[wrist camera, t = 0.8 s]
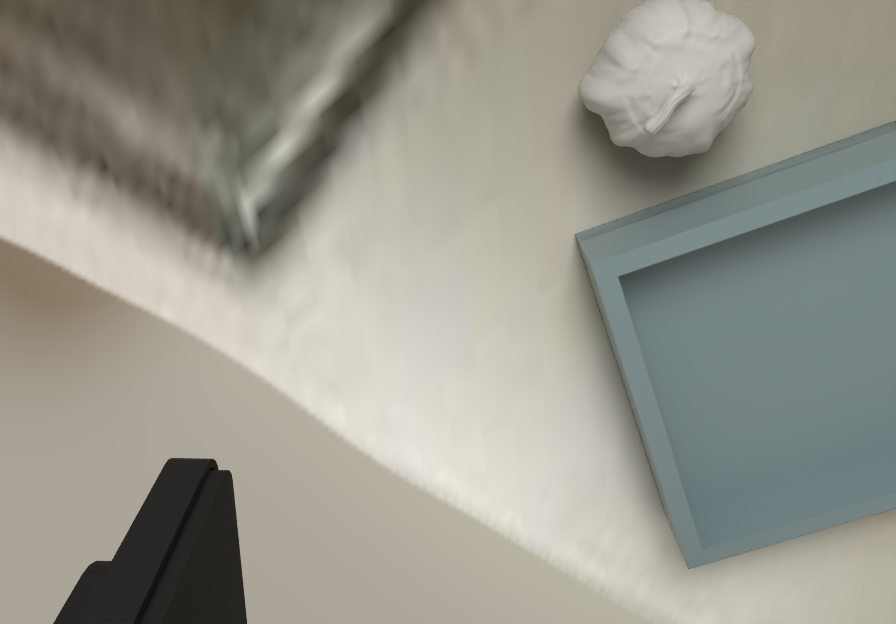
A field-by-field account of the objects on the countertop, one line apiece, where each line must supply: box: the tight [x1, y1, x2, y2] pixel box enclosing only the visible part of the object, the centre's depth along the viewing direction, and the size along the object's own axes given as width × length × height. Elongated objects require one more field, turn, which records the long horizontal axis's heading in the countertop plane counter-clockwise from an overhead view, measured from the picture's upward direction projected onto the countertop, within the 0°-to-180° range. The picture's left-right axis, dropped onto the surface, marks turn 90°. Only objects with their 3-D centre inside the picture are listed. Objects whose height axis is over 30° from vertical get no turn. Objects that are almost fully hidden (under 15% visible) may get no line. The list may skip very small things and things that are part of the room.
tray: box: [575, 121, 896, 569], centre depth 32 cm, size 17×15×4 cm
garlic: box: [578, 0, 755, 157], centre depth 27 cm, size 6×5×5 cm
